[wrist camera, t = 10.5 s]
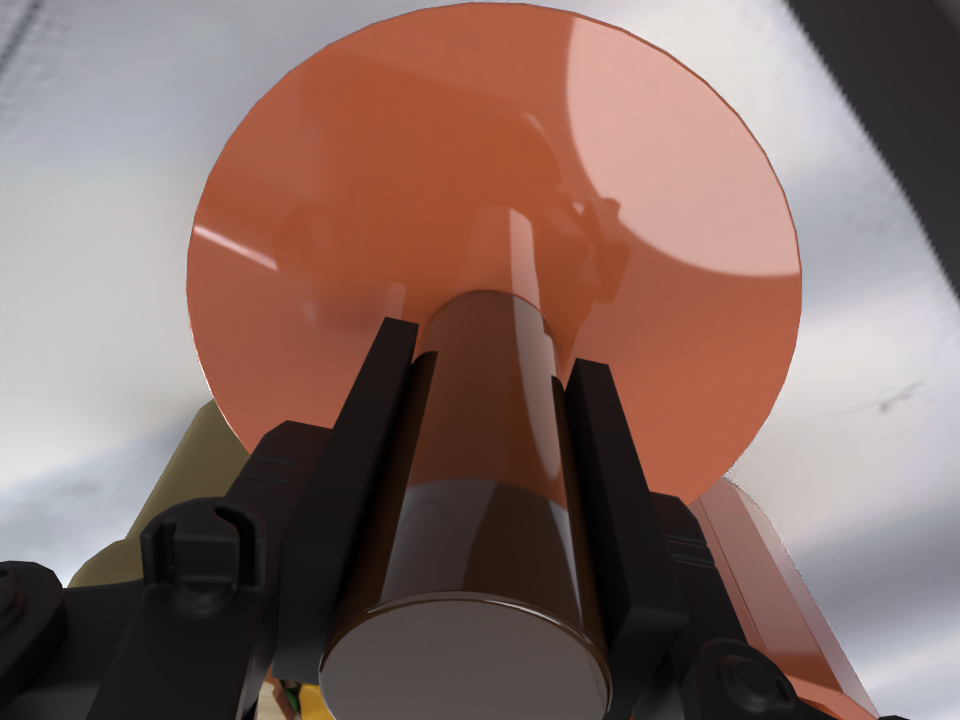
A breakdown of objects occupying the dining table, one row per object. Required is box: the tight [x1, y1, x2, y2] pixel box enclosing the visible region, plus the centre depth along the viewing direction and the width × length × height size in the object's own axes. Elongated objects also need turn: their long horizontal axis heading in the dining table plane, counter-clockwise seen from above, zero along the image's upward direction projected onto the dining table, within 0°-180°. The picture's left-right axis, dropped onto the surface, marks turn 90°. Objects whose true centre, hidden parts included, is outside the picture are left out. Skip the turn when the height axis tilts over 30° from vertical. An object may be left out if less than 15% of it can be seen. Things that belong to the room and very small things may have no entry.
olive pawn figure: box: [67, 399, 251, 588], centre depth 23 cm, size 6×6×11 cm
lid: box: [186, 2, 802, 720], centre depth 11 cm, size 16×16×10 cm
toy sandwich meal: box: [257, 661, 335, 720], centre depth 34 cm, size 12×14×5 cm
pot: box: [629, 478, 880, 720], centre depth 26 cm, size 15×15×10 cm
